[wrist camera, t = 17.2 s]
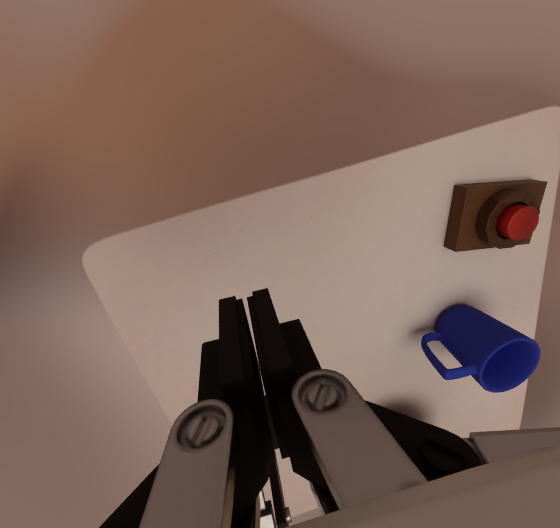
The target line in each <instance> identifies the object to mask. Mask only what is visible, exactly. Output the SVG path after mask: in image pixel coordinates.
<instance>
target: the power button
mask: <svg viewBox="0 0 560 528" xmlns="http://www.w3.org/2000/svg"><path fill="white" fill-rule="evenodd" d="M538 220H539V214H538V211H537V210H536V209H535V208H534V207H531V206H526V205H521V204H512V205H509V206H507V207H506V208H505V209H504V210H503V211H502V212H501V214H500V215H499V216H498V219H497V223H496V230H497V232H498V233H499V234H500V235H501V236H504V237H507V238H510V239H513V240H522V239H524V238H526V237H528V236H529V235H530V234H531V233H532V232H533V231H534V230H535V228H536V226H537V224H538Z"/></svg>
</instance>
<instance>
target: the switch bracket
mask: <svg viewBox="0 0 560 528" xmlns="http://www.w3.org/2000/svg"><path fill="white" fill-rule="evenodd" d="M265 402H266V407H267V413H268V418H269V424H270V429H271V435H272V441H273V446H274V452H275V449H277V448H279V444H278V441H277V437H276V433H275V429H274V425H273V421H272V417H271V413H270V409H269V405H268V401H267V397H266V396H265ZM275 457H276V453H275ZM269 467H270V473H271V477H270V484H271V490H272V497H273V503H274V510H275V517H276V523H277V527H278V528H286V527H289V525H288V523H290V522H292V520H291V515H290V510H289V507H286V508H285V503H284V497H283V492H282V486H281V481H280V475H279V470H278V464H277V459H276V461H274V462H270V463H269Z"/></svg>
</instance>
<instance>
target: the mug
mask: <svg viewBox="0 0 560 528" xmlns="http://www.w3.org/2000/svg"><path fill="white" fill-rule="evenodd" d="M434 340H437V341H440V342H441V343H442V344H443V345H444V346H445V347H446V348H447V349H448V351H449V352H450V353H451V354H452V355H453V356H454V357H455V358H456V359H457V360H458V361H459V363H460V364H461V365H462V366H463V367H459V368H454V369H447V368H445V367H444V365H443V364H442V363H441V362H440V361H439V360H438V359H437V357H436V356H435V355H434V354H433V353H432V351H431V350H430V348H429V347H428V345H427V342H429V341H434ZM421 346H422V349H423V351H424V353H425V355H426V356H427V358H428V359H429V361H430V362H431V363H432V365H433V366H434V367H435V369H436V370H437V371H438V372H439V374H440V375H441V376H442V377H443V378H444V379H445V380H452V379H458V378H462V377H466V376H469V375H471V376H472V377H473V378H474V379H475V380H476V381H477V382H478V383H479V384H480V385H481V386H482V387H483V388H484V389H485V390H487V391H489V392H504V391H508V390H510V389H513V388H515V387H516V386H518V385H520V384H521V383H522V382H524V381H525V380H526V379H527V378H528V377H529V376H530V375H531V374H532V372H533V371H534V370H535V368H536V366H537V364H538V362H539V359H540V348H539V346H538V344H537V343H536V342H535V341H534V340H533V339H531V338H529V337H527V336H525V335H524V334H522V333H520V332H518V331H516V330H514V329H513V328H511V327H509V326H507V325H505V324H503V323H502V322H500V321H498V320H496V319H494V318H492V317H491V316H489V315H487V314H485V313H483V312H481V311H480V310H478V309H476V308H474V307H471V306H467V305H458V306H455V307H452V308H450V309H448V310H447V311H446V312H445V313H443V315H442V316H441V317H440V318H439V320H438V323H437V326H436V333H428V334H426V335H424V336H423V337H422V340H421Z"/></svg>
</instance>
